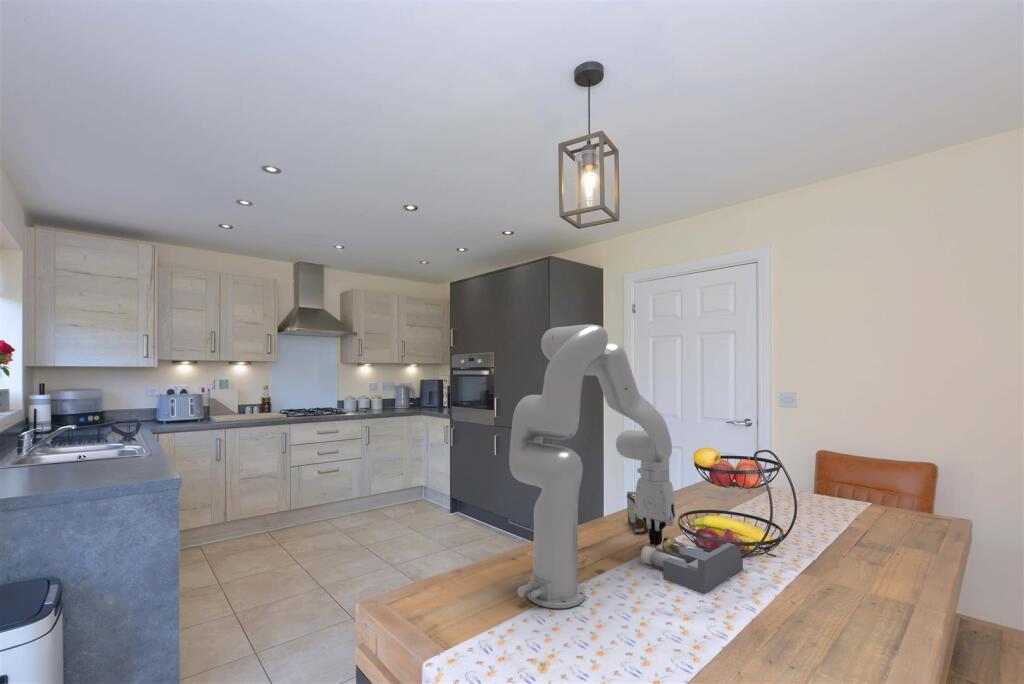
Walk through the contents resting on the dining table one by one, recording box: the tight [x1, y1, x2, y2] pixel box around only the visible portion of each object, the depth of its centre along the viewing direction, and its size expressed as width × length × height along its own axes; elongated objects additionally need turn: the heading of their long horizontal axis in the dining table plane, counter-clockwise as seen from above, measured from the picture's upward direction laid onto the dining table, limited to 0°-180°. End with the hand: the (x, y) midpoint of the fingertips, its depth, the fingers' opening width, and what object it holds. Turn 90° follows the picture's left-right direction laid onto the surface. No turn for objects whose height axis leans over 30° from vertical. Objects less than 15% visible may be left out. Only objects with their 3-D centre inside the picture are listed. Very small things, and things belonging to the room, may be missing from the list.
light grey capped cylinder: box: [640, 545, 686, 567], centre depth 117 cm, size 4×10×4 cm, turn 42°
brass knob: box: [661, 536, 706, 556], centre depth 124 cm, size 4×10×4 cm, turn 42°
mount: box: [662, 537, 744, 594], centre depth 115 cm, size 20×10×7 cm, turn 132°
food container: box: [626, 491, 649, 536], centre depth 147 cm, size 12×6×10 cm, turn 179°
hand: (655, 543), depth 130 cm, fingers closed
